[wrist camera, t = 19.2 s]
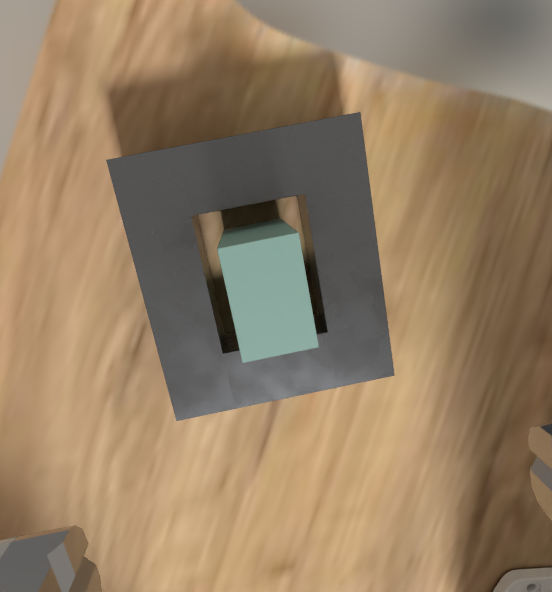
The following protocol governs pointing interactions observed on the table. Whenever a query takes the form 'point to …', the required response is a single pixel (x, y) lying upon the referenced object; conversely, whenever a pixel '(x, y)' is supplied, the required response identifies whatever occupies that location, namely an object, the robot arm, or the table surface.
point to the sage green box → (267, 289)
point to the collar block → (196, 272)
